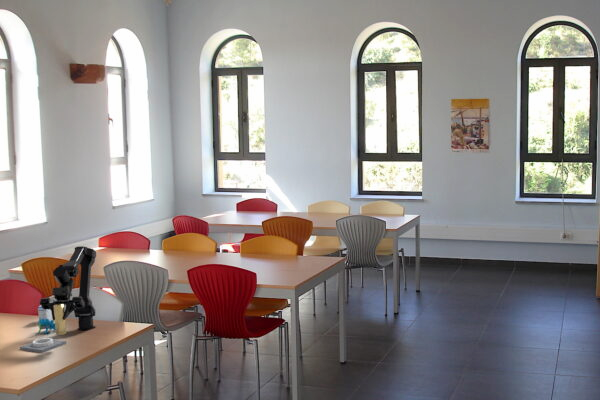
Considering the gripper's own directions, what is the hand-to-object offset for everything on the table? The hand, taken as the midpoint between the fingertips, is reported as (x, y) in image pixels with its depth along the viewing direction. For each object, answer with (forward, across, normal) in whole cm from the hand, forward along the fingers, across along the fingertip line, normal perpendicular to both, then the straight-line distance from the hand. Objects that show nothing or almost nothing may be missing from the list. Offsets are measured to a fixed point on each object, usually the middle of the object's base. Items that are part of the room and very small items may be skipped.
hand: (58, 319), depth 340 cm
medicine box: (-26, -26, +46) cm, 59 cm away
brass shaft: (+4, 0, +6) cm, 7 cm away
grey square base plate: (+6, -10, +13) cm, 18 cm away
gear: (-11, -17, +31) cm, 37 cm away
